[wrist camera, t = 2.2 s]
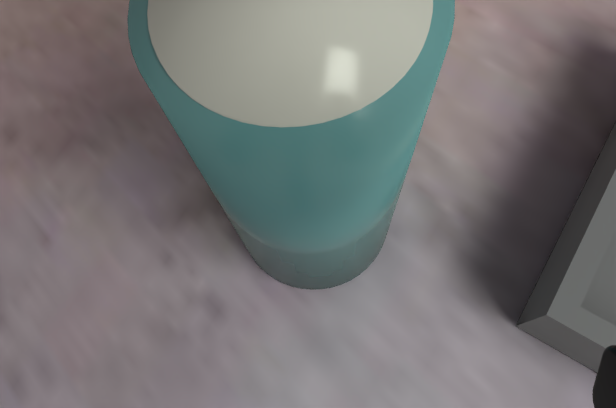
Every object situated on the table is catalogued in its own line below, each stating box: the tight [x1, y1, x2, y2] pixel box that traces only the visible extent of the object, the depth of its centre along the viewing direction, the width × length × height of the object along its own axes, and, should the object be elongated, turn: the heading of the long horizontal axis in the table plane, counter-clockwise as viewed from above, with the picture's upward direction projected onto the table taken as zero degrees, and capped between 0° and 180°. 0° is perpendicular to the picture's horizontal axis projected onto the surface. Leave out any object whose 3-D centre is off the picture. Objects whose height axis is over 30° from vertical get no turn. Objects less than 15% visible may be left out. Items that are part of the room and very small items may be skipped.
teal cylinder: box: [128, 0, 455, 289], centre depth 16 cm, size 6×6×13 cm
